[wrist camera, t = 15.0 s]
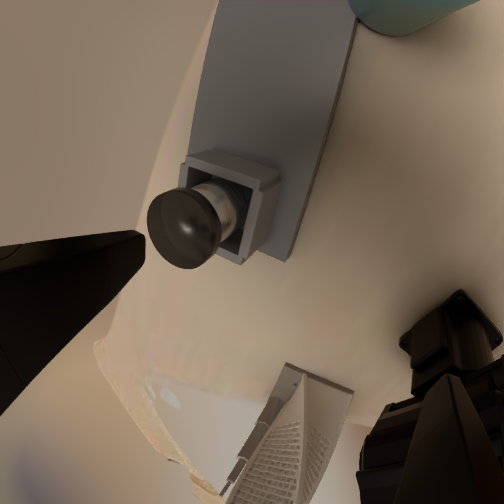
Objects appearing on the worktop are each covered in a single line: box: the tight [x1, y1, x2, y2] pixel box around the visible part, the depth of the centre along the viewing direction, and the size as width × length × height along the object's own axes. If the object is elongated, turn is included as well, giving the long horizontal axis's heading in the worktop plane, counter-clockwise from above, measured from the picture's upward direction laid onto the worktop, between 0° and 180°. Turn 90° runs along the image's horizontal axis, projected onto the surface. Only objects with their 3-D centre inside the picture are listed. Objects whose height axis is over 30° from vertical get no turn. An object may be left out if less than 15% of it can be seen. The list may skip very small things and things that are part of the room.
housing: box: [178, 0, 358, 265], centre depth 13 cm, size 32×9×4 cm, turn 168°
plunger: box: [147, 177, 253, 269], centre depth 18 cm, size 4×4×6 cm
